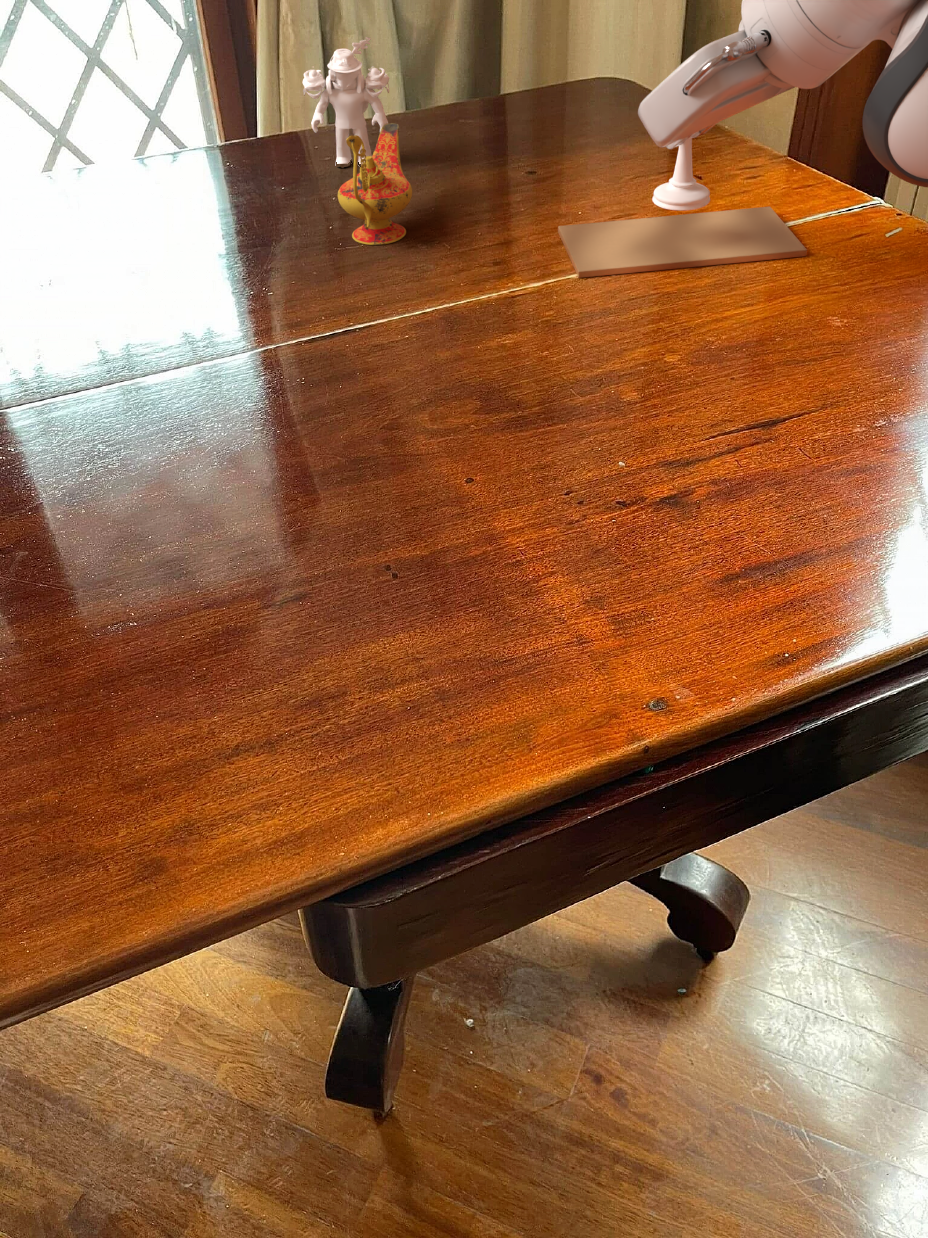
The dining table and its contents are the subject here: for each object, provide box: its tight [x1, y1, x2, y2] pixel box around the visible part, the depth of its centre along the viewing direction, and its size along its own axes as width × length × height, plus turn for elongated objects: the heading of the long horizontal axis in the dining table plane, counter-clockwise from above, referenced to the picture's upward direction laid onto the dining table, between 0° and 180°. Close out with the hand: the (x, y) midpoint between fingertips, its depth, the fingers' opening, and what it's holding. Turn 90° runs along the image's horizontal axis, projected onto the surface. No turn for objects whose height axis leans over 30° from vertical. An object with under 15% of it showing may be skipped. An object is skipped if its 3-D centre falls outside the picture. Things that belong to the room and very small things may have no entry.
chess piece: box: [651, 131, 711, 212], centre depth 92 cm, size 5×5×10 cm
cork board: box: [557, 206, 808, 279], centre depth 98 cm, size 20×10×1 cm, turn 96°
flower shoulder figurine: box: [302, 36, 390, 164], centre depth 113 cm, size 9×4×12 cm, turn 87°
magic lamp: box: [337, 122, 413, 246], centre depth 100 cm, size 7×18×11 cm, turn 173°
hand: (680, 134), depth 92 cm, fingers closed on chess piece
